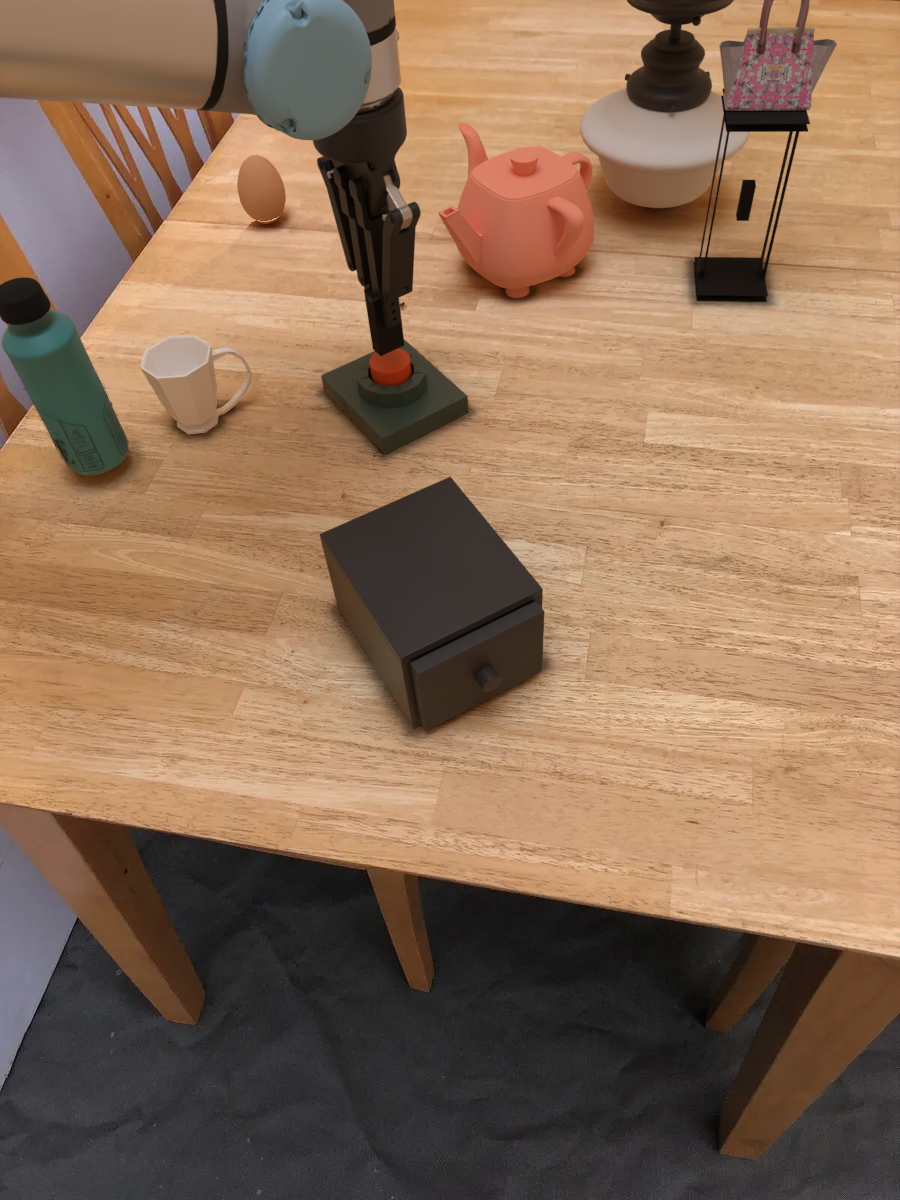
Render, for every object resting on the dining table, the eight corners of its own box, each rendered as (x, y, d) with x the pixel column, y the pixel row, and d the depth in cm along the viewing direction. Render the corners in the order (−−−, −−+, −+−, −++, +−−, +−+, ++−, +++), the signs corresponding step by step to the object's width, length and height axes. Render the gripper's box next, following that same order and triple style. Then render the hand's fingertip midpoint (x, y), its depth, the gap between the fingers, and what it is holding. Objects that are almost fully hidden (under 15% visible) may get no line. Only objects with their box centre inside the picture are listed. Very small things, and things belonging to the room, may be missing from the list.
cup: (156, 411, 96) (131, 346, 89) (248, 381, 98) (229, 316, 92) (174, 452, 92) (148, 387, 85) (269, 419, 94) (251, 354, 88)
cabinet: (540, 663, 74) (543, 588, 66) (412, 729, 71) (400, 658, 63) (456, 554, 81) (450, 475, 74) (338, 609, 78) (319, 533, 71)
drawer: (551, 682, 72) (554, 622, 65) (433, 743, 69) (425, 687, 63) (463, 567, 79) (458, 504, 73) (354, 618, 77) (340, 557, 70)
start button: (364, 372, 92) (361, 357, 91) (397, 356, 93) (395, 342, 92) (385, 392, 90) (382, 378, 89) (419, 376, 91) (417, 361, 90)
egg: (294, 209, 119) (281, 144, 113) (285, 233, 116) (271, 168, 109) (251, 209, 120) (236, 144, 113) (241, 233, 116) (224, 168, 110)
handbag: (683, 300, 102) (733, -6, 79) (681, 262, 107) (727, -38, 83) (781, 302, 101) (861, -9, 78) (774, 263, 106) (848, -41, 82)
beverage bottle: (149, 452, 92) (73, 272, 76) (108, 496, 88) (19, 318, 73) (97, 436, 94) (12, 258, 78) (55, 479, 90) (-43, 301, 75)
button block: (324, 392, 96) (317, 360, 93) (404, 354, 99) (401, 323, 96) (384, 455, 90) (379, 423, 87) (468, 412, 93) (467, 381, 90)
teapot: (443, 305, 104) (435, 190, 94) (463, 225, 115) (457, 113, 104) (587, 310, 102) (595, 193, 92) (594, 228, 112) (602, 114, 102)
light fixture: (767, 220, 111) (821, -21, 91) (622, 262, 108) (646, 20, 88) (682, 150, 123) (714, -78, 103) (549, 185, 119) (556, -44, 99)
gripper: (442, 105, 68) (458, 365, 87) (352, 50, 75) (386, 301, 94) (355, 138, 66) (391, 397, 85) (271, 78, 73) (322, 330, 92)
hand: (388, 346), depth 89 cm, fingers closed
